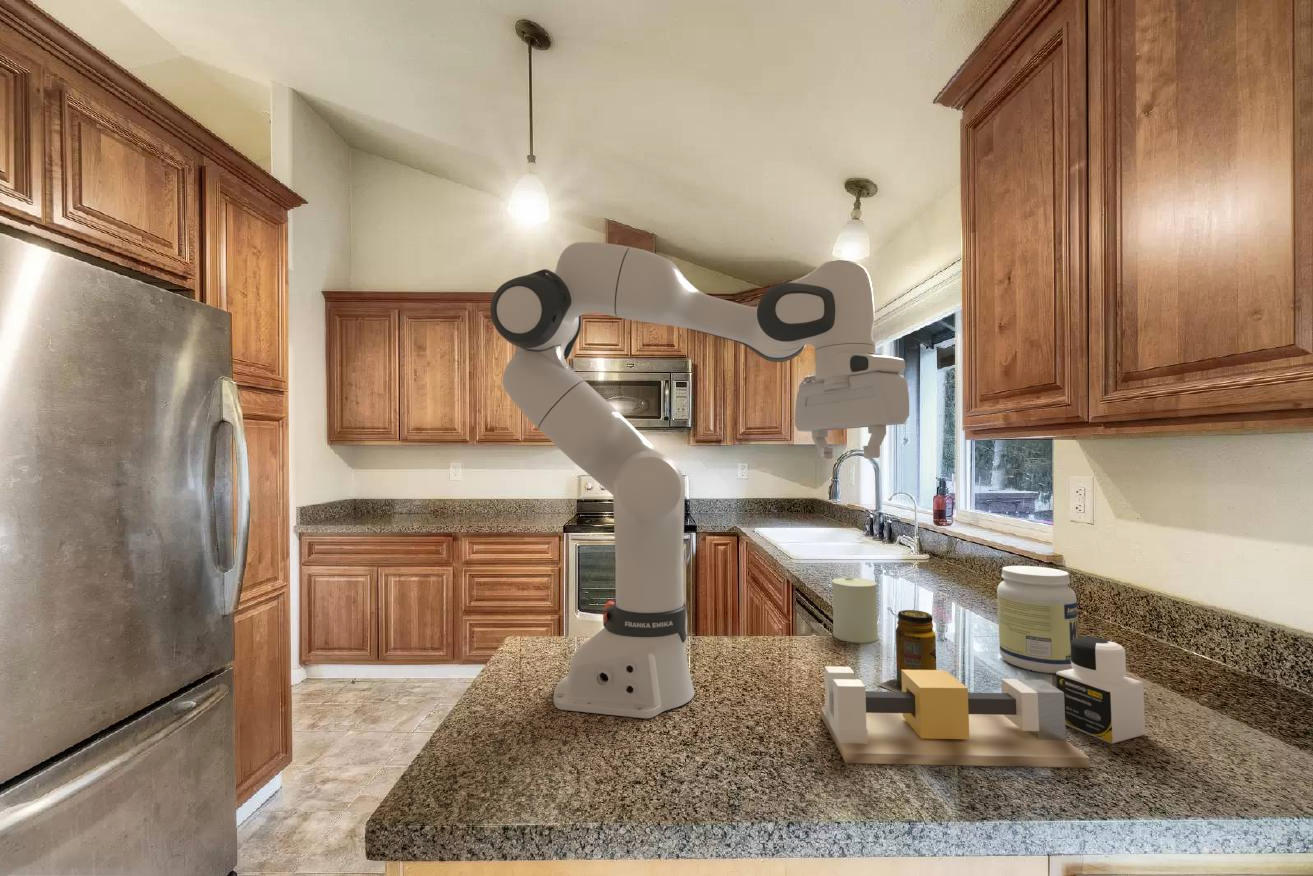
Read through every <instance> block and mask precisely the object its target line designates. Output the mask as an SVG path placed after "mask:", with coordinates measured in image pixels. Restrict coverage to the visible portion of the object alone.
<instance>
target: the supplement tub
mask: <svg viewBox="0 0 1313 876" xmlns="http://www.w3.org/2000/svg"><path fill="white" fill-rule="evenodd" d="M1001 572H1002V573H1001V578H1002V579H1003V580H1002V581H1001V582H999V584H998V586H997V588H996V589H997V590H996V594H997V595H996V596H997V616H998V620H997V621H998V639H999V640H998V641H999V643H998V644H999V649H998V650H999V653H1000V657H1001V658H1002V659H1003V660H1004V661H1005V662H1007V663H1009V664H1011V665H1013V666H1015V667H1018V668H1021V669H1024V670H1027V671H1031V670H1032V672H1036V673H1037V672H1038V673H1043V674H1056V673H1057V672H1058V671H1063V670H1068V669H1073V667H1072V666H1071V643H1070V642H1071V641H1072V640H1073V639H1075V638H1079V627H1078V626H1079V625H1078V607H1077V606H1078V605H1077V602H1078V601H1077V600H1078V599H1077V594H1076V592H1075V591H1074V590H1073V589H1072V588H1071V587H1070V586H1069V584H1071V579H1070V573H1069V572H1068V571H1065V570H1061V569H1057V568H1051V567H1044V566H1035V565H1034V566H1031V565H1008V566H1007V565H1006V566H1003V567H1002V569H1001Z"/></svg>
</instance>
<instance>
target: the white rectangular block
mask: <svg viewBox="0 0 1313 876" xmlns="http://www.w3.org/2000/svg"><path fill="white" fill-rule="evenodd" d="M1000 681H1001V683H1000V684H1001V693H1008V694H1009V695H1011V696H1012V697H1013V698H1015V699H1016V715H1004V716H1005V717H1006V718H1008V719H1009V720H1010V721H1011V722H1013V723H1014V724H1015V725H1016V726H1018V727H1019V728H1020V729H1021V730H1023V731H1039V715H1038V693H1037V692H1036V691H1034V690H1032V689H1031V688H1029V687H1028V686H1026V685H1025V684H1023V683H1022V682H1020V681H1019V680H1017V678H1001V679H1000Z"/></svg>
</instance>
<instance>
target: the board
mask: <svg viewBox="0 0 1313 876" xmlns="http://www.w3.org/2000/svg"><path fill="white" fill-rule="evenodd" d="M820 717H821V719H822V721H823V723H824V725H825V726H826V728H828V729H827V731H828V730H829V731H828V732H829V735H830V736H831V738H832V740H833V741H834V744H835V745H836V748H837V749H838V752H839V751H840V752H839V753H840V755H841V757H842V759H843V761H844V762H845V764H879V765H880V764H882V765H885V764H887V765H929V766H930V765H931V766H932V765H933V766H983V767H985V766H986V767H989V766H990V767H1028V768H1029V767H1031V768H1032V767H1033V768H1035V767H1037V768H1039V767H1040V768H1078V769H1079V768H1080V769H1081V768H1082V769H1083V768H1084V769H1085V768H1087V769H1089V768H1090V767H1091V763H1090V756H1088V755H1087V754H1085V753H1084V752H1082V751H1081V750H1080V749H1079V748H1077V747H1076V746H1075V745H1073V744H1072V743H1070V742H1069V741H1067V739H1066V740H1038V739H1037V738H1036V737H1034V736H1033V735H1032V734H1031V733H1029V732H1028V731H1023V730H1021V729H1020V728H1019V727H1018V726H1016V725H1015V724H1014V723H1013V722H1011V721H1010V720H1009V719H1008V718H1006V717H1005V716H1004V715H991V714H969V739H930V738H921V737H920V736H919V735H918V734H917V733H916V731H915V730H914V729H913V728H912V727H911V726H910V724H909V723H908V722H907V721H906V720H905V718H904V717H903V713H866V728H867V733H868V744H860V743H840V742H839V741H838V739H837V737H836V735H835V733H834V731H833V729H832V728H831V726H830V724H829V722H828V720H827V718H826V717H825V707H821V708H820Z"/></svg>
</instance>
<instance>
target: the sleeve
mask: <svg viewBox="0 0 1313 876" xmlns="http://www.w3.org/2000/svg"><path fill="white" fill-rule="evenodd" d="M901 674H902V692H912V693H913V694H914V695H915V713H903V717H904V718H905V720H906V721H907V722H908V723H909V724H910V726H911V727H912V728H913V729H914V730H915V731H916V733H917V734H918V735H919V736H920V737H921V738H930V739H969V711H968V693H969V688H968V687H967V686H966V685H965V684H963V683H962V682H960V681H959V680H958V679H957V678H956V677H954V676H953V675H952V674H951V673H950V672H948V671H947V670H945V669H936V670H901Z"/></svg>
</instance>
